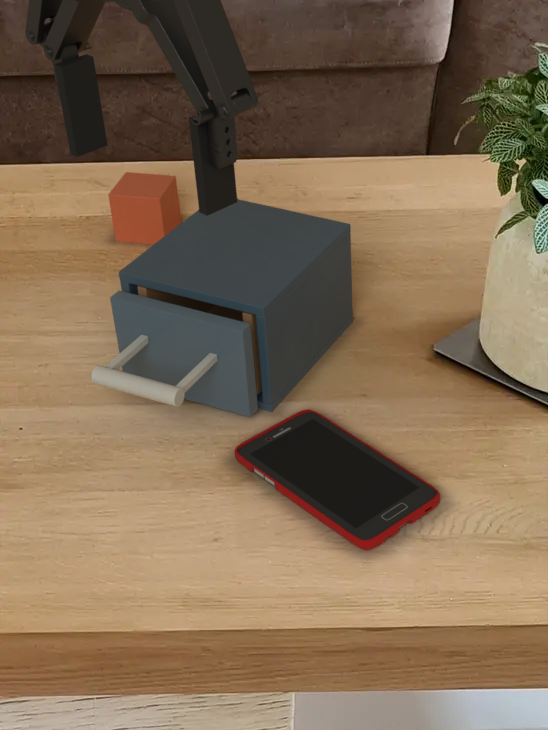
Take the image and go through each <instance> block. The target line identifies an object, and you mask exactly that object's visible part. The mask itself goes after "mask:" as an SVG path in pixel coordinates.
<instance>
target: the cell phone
mask: <svg viewBox="0 0 548 730" xmlns="http://www.w3.org/2000/svg"><path fill="white" fill-rule="evenodd" d="M234 458H235V460H236V462H237V463H239V464H240V465H241V466H243V467H244V468H246V469H247V470H248V471H250V472H251V473H254V474H255V475H257V476H258V477H260V478H261V479H262V480H263V481H265V482H267V483H268V484H270V485H271V486H272V487H274V489H275V490H276V491H277V492H278V493H280V494H281V495H283V496H284V497H285V498H287V499H288V500H290V501H291V502H293V503H294V504H295V505H297V506H299V507H300V508H301V509H302V510H304V511H306V512H307V513H308V514H309V515H311V516H312V517H314V518H315V519H317V520H318V521H319V522H321V523H322V524H324V525H325V526H326V527H328V528H330V529H331V530H332V531H334V532H335V533H336V534H338V535H339V536H341V537H342V538H343V539H345V540H346V541H348V543H351V544H352V545H353V546H355V547H357V548H358V549H361V550H363V551H370V550H374V549H375V548H377V547H379V546H381V545H382V544H383V543H385V542H386V541H387V539H391V538H392V537H394V536H395V535H397V534H399V533H400V529H402V528H404V527H405V526H406V525H408V524H410V525H412V524H414V523H415V522H417V521H418V520H420V519H421V518H422V517H424V516H426V515H427V514H428V513H430V512H431V511H433V510H435V508H436V507H437V506H438V505H439V504H440V502H441V494H440V492H439V490H438V489H437V488H435V487H434V486H433V485H432V484H431V483H429V482H427V481H426V480H424V479H423V478H421V477H420V476H418V475H416V473H415V474H414V473H413V472H411V470H408V469H407V468H406V467H404V466H402V464H399V463H398V462H396V461H395V460H393V459H391V458H390V457H389V456H387V455H385V454H383V453H382V452H381V451H379V450H378V449H376V448H374V447H373V446H371V445H370V444H368V443H366V442H365V441H363V439H360V438H359V437H357V436H355V435H354V434H352V433H351V432H349V431H347V430H346V429H344V428H343V427H342V426H340V425H338V424H337V423H336V422H334V421H333V420H331V419H329V418H327V417H326V416H324V415H323V414H321V413H319V412H317V411H315V410H313V409H303V410H300V411H297V412H296V413H293V414H292V415H291V416H288V417H287V418H284V419H283V420H281V421H279V422H277V423H275V424H274V425H271V426H269V427H268V428H266V429H264V430H262V431H261V432H259V433H257V434H255V435H253V436H252V437H250V438H248V439H246V440H244V441H243V442H241V443H239V444H237V446H236V447H235V449H234Z"/></svg>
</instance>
